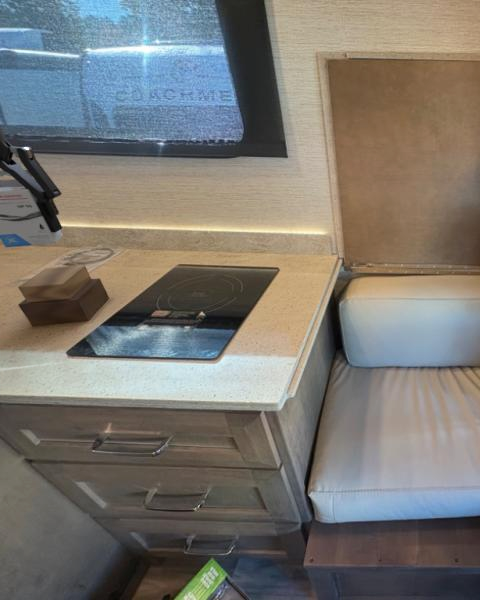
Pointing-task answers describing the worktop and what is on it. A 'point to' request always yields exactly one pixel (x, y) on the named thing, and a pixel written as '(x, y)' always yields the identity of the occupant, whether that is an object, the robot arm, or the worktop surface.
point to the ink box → (22, 216)
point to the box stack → (62, 296)
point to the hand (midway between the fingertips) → (30, 231)
